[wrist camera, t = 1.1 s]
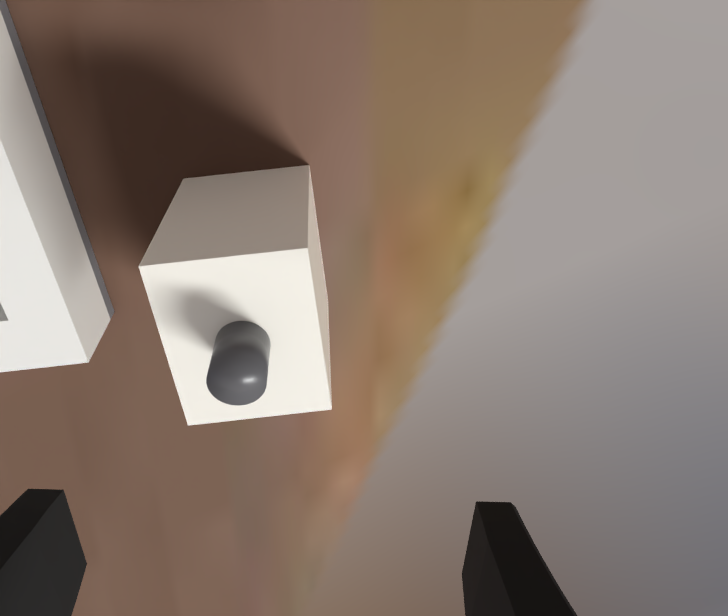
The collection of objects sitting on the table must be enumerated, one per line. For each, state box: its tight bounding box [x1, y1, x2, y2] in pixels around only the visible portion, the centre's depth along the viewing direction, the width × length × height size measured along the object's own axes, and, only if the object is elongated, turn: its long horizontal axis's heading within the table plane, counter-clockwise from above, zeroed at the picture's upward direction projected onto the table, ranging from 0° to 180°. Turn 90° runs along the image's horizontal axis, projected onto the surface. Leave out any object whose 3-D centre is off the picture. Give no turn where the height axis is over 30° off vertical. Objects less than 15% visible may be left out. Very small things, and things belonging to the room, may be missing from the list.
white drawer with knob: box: [139, 165, 332, 425], centre depth 18 cm, size 4×5×8 cm
